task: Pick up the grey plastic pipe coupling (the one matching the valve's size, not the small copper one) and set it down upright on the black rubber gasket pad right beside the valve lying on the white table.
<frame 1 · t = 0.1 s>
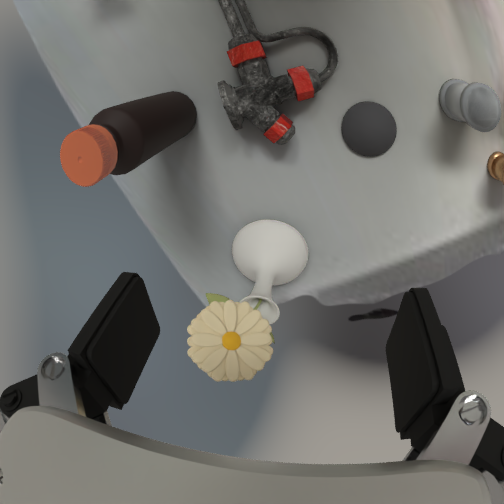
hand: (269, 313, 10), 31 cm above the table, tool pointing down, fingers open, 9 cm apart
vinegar: (174, 114, 37), on the table
flower in vase: (267, 243, 46), on the table
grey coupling: (457, 99, 28), on the table
gasket pad: (369, 128, 34), on the table
valve: (269, 42, 30), on the table
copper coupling: (497, 164, 31), on the table
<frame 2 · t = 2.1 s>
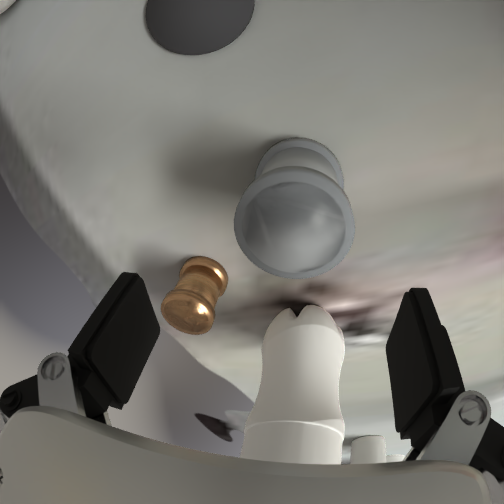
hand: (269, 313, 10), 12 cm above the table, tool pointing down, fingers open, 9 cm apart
mug: (370, 442, 44), on the table
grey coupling: (299, 179, 20), on the table
water bottle: (305, 322, 28), on the table
gasket pad: (198, 6, 14), on the table
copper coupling: (204, 275, 26), on the table
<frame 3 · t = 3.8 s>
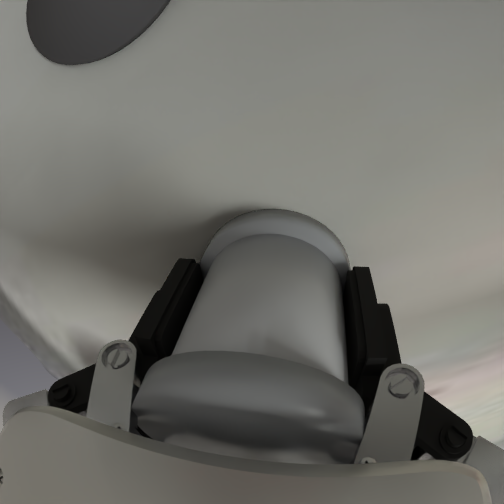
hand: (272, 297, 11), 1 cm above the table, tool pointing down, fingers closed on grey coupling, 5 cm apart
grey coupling: (276, 275, 12), on the table, touching gripper
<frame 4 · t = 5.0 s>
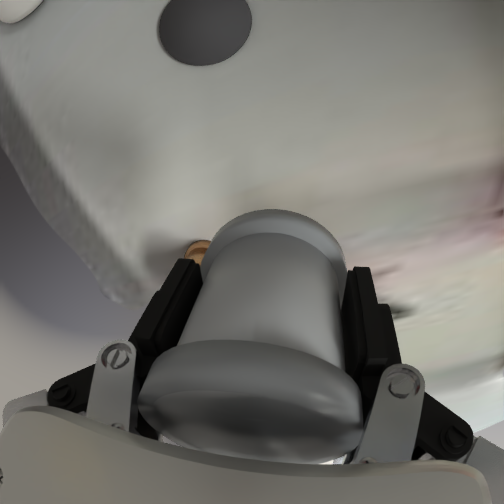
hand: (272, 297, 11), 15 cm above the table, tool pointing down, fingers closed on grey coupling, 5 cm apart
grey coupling: (275, 274, 12), point 14 cm above the table, touching gripper
gasket pad: (204, 23, 18), on the table
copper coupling: (207, 258, 30), on the table
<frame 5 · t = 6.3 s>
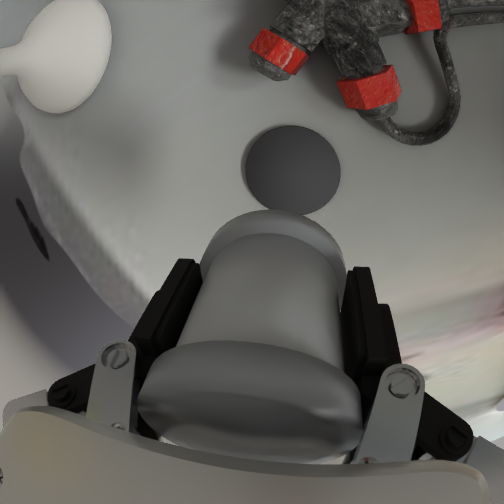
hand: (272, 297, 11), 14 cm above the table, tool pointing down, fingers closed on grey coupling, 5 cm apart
flower in vase: (78, 44, 18), on the table
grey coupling: (273, 274, 12), point 12 cm above the table, touching gripper
gasket pad: (293, 171, 22), on the table
valve: (426, 41, 15), on the table
when the fingers open (3 cm above the table, at t = 8.5 s): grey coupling stays where it is, resting on gasket pad.
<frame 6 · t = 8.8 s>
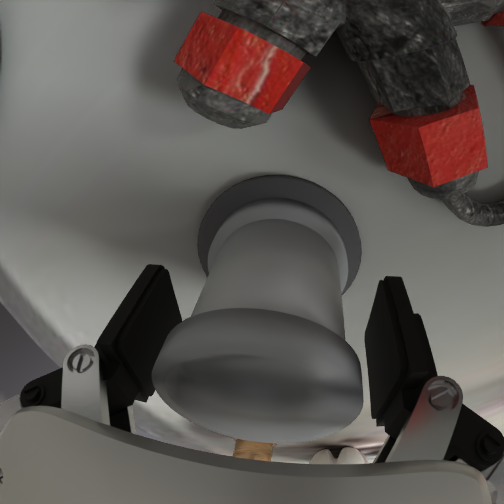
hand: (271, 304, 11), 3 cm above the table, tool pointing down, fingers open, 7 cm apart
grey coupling: (279, 259, 13), resting on gasket pad
water bottle: (338, 452, 27), on the table
gasket pad: (279, 252, 13), on the table
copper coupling: (256, 434, 26), on the table
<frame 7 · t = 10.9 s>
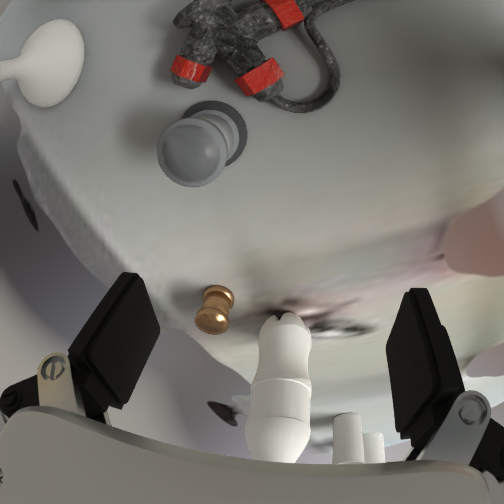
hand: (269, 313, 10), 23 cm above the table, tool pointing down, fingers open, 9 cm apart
mug: (349, 420, 58), on the table
flower in vase: (61, 56, 24), on the table
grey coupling: (211, 136, 29), resting on gasket pad
water bottle: (285, 323, 42), on the table
gasket pad: (211, 134, 29), on the table
valve: (306, 31, 23), on the table
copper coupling: (219, 297, 41), on the table
cup: (361, 439, 65), on the table
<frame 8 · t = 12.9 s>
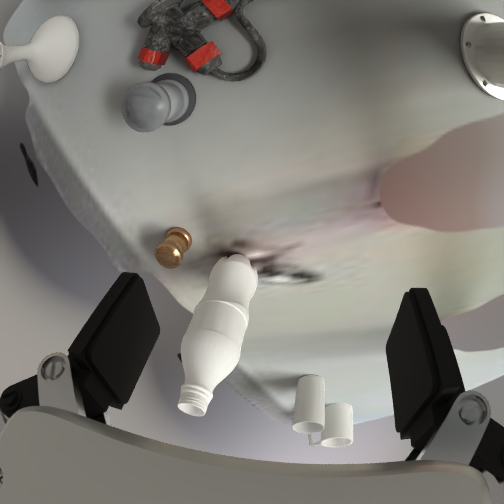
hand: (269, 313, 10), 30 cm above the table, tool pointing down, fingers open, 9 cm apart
mug: (314, 384, 64), on the table
flower in vase: (62, 43, 30), on the table
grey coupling: (169, 100, 34), resting on gasket pad
water bottle: (237, 266, 48), on the table
gasket pad: (170, 99, 35), on the table
valve: (240, 18, 28), on the table
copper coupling: (179, 238, 47), on the table
cup: (330, 410, 71), on the table
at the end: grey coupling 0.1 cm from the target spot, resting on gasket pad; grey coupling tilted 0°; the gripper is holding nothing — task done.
